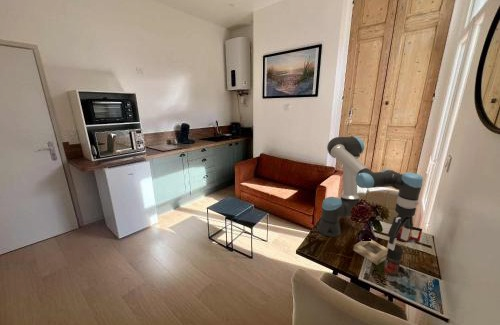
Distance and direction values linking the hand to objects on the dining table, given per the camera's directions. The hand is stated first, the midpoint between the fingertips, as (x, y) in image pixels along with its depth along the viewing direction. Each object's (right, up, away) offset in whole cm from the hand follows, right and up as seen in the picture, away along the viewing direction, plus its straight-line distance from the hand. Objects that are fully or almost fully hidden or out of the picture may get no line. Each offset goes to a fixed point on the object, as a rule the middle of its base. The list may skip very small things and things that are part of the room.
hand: (397, 243), depth 101 cm
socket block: (-2, -13, +19) cm, 23 cm away
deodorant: (0, -17, +5) cm, 18 cm away
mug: (+27, -9, +32) cm, 43 cm away
